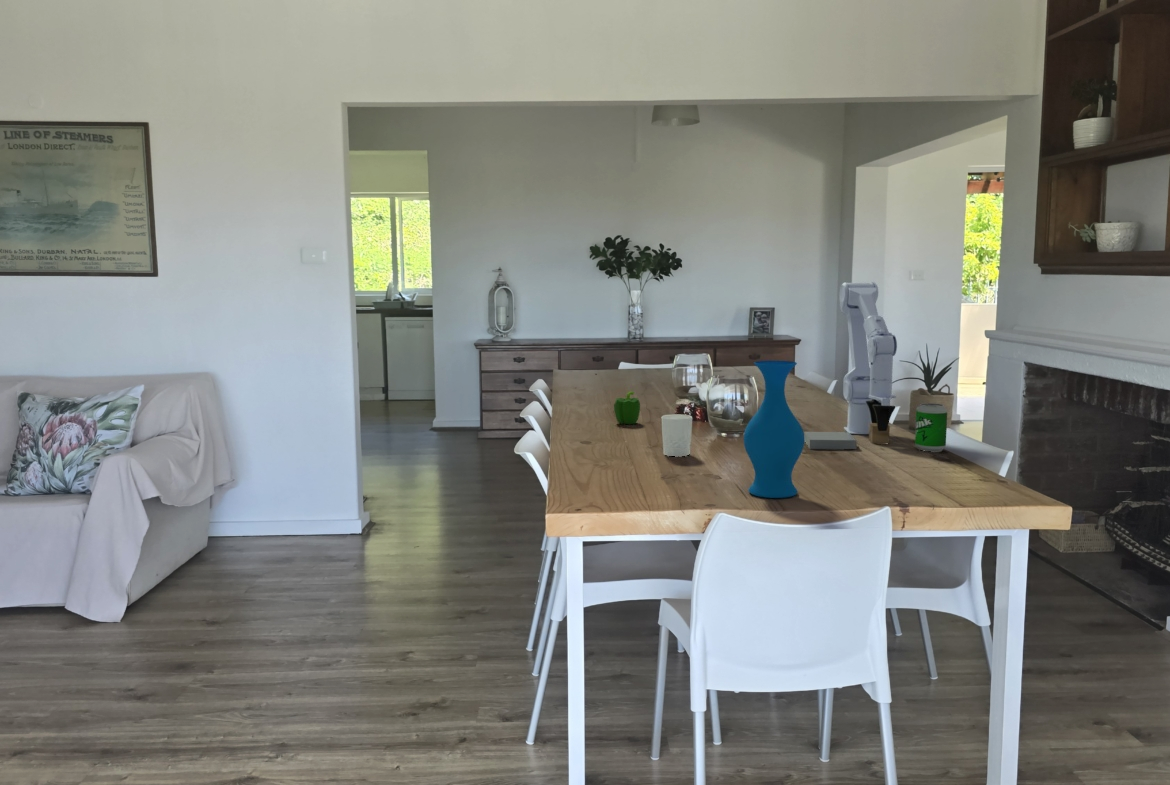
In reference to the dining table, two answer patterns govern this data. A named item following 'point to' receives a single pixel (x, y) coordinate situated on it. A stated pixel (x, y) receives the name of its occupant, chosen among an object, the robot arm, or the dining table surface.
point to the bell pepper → (627, 409)
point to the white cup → (676, 434)
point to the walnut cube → (878, 434)
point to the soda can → (931, 427)
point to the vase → (774, 436)
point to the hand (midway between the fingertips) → (879, 428)
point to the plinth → (830, 440)
